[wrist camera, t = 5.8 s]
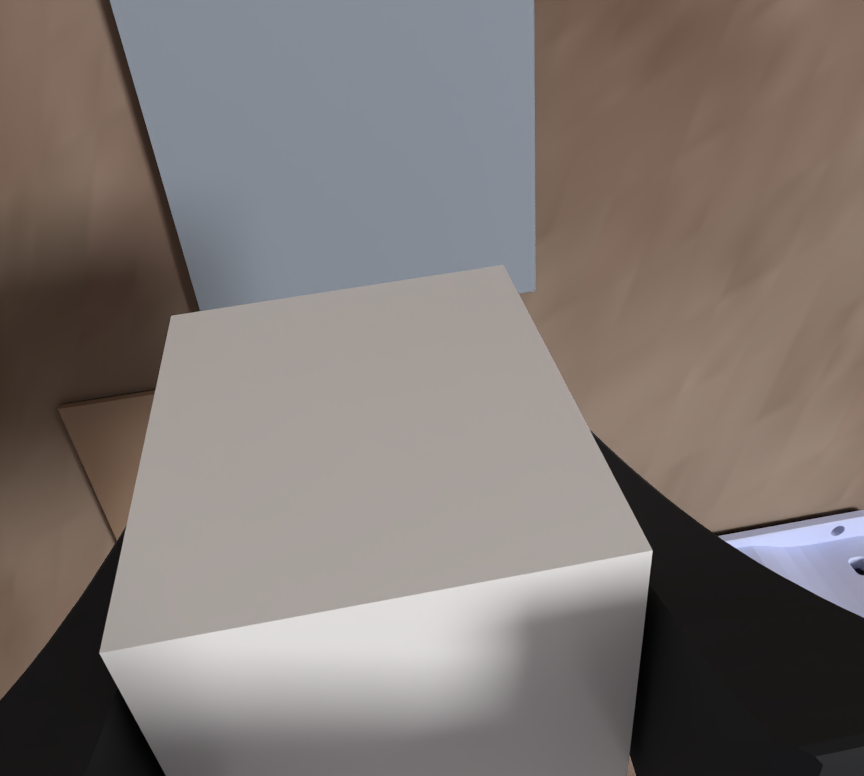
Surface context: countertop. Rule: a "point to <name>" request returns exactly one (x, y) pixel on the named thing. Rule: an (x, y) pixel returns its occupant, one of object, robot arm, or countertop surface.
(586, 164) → the countertop surface
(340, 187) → the mat
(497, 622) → the matte white cube
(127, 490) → the board
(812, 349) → the countertop surface
